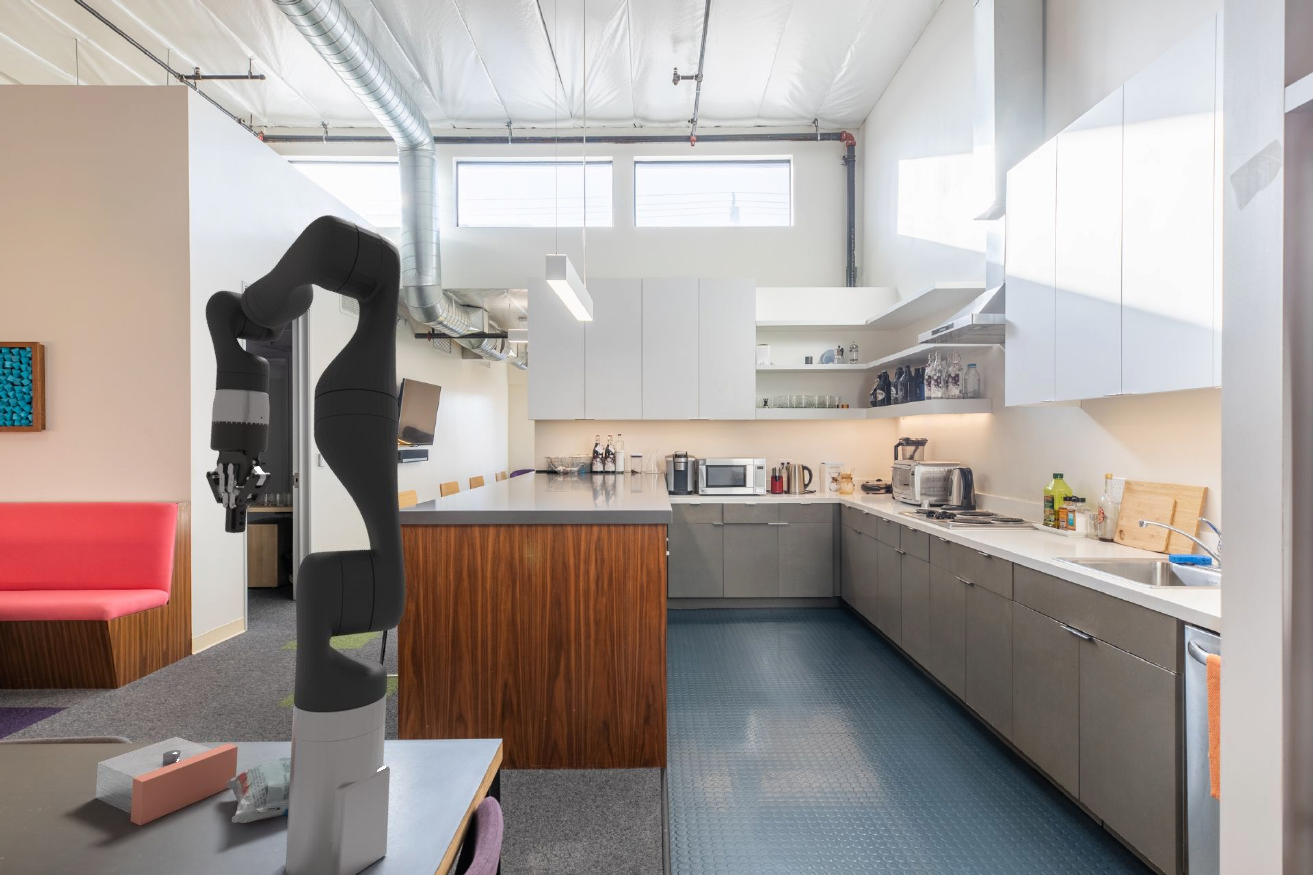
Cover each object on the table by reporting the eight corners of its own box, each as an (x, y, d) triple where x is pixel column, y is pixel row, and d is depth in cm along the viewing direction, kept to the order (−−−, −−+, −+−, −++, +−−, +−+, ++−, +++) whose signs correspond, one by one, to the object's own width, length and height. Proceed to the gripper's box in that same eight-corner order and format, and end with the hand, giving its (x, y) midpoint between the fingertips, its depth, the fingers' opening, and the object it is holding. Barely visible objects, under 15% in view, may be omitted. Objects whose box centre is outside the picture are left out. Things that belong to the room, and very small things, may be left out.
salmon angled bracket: (235, 784, 85) (237, 746, 85) (139, 825, 75) (142, 781, 75) (181, 764, 90) (183, 728, 90) (85, 800, 80) (87, 759, 81)
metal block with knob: (217, 785, 85) (220, 743, 85) (139, 818, 77) (142, 771, 77) (174, 769, 89) (176, 729, 89) (95, 798, 81) (98, 754, 81)
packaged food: (230, 841, 72) (233, 797, 73) (225, 797, 82) (228, 758, 82) (316, 819, 78) (318, 777, 78) (302, 780, 87) (304, 743, 87)
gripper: (291, 422, 101) (285, 533, 100) (239, 423, 106) (233, 528, 105) (243, 418, 94) (236, 537, 93) (190, 419, 99) (183, 531, 99)
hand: (234, 532), depth 99 cm, fingers closed
